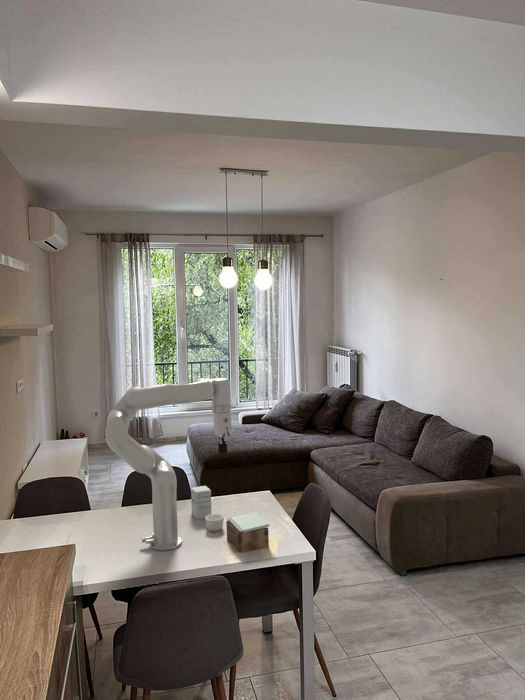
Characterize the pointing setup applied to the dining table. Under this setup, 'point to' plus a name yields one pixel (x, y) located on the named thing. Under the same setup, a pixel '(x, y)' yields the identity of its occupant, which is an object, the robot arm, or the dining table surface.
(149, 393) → the robot arm
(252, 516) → the cover
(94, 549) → the dining table surface
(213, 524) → the teacup
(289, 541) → the dining table surface
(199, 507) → the supplement box
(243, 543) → the wooden u-shaped stand
